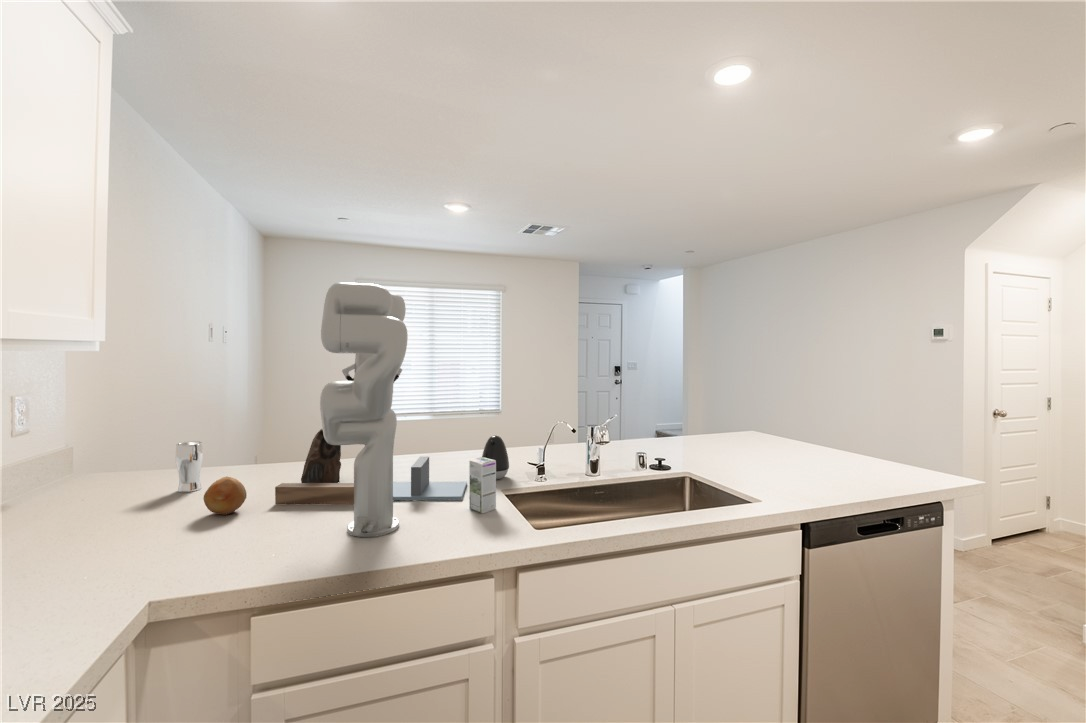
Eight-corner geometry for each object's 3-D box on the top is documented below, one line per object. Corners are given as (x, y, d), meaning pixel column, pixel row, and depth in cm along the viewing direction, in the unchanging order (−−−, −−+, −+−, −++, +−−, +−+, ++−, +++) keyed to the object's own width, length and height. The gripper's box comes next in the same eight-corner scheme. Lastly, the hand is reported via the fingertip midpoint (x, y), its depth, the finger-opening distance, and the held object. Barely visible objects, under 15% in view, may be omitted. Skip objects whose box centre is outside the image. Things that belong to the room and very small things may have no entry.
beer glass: (207, 488, 155) (206, 442, 155) (181, 494, 150) (181, 446, 149) (197, 485, 159) (196, 440, 159) (172, 490, 153) (171, 443, 153)
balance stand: (461, 500, 147) (461, 467, 147) (368, 500, 146) (368, 468, 145) (466, 485, 163) (467, 455, 163) (383, 485, 162) (383, 455, 161)
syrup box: (496, 509, 140) (497, 459, 139) (481, 514, 135) (481, 463, 135) (484, 504, 144) (484, 456, 143) (468, 509, 139) (468, 459, 139)
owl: (337, 477, 171) (337, 421, 170) (352, 485, 162) (352, 425, 161) (299, 484, 162) (299, 425, 161) (313, 492, 153) (312, 430, 152)
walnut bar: (358, 505, 142) (358, 486, 142) (275, 505, 141) (275, 487, 141) (362, 500, 146) (362, 483, 146) (282, 501, 145) (281, 483, 145)
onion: (199, 513, 133) (199, 477, 133) (240, 504, 141) (240, 471, 140) (208, 522, 127) (208, 485, 126) (251, 513, 134) (250, 477, 134)
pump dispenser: (476, 480, 168) (477, 437, 168) (485, 473, 179) (485, 432, 178) (505, 482, 167) (505, 439, 166) (511, 474, 177) (512, 433, 176)
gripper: (344, 340, 138) (344, 399, 138) (404, 340, 146) (404, 396, 147) (340, 339, 144) (340, 396, 145) (398, 340, 153) (398, 394, 154)
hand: (372, 396), depth 146 cm, fingers open, 9 cm apart
